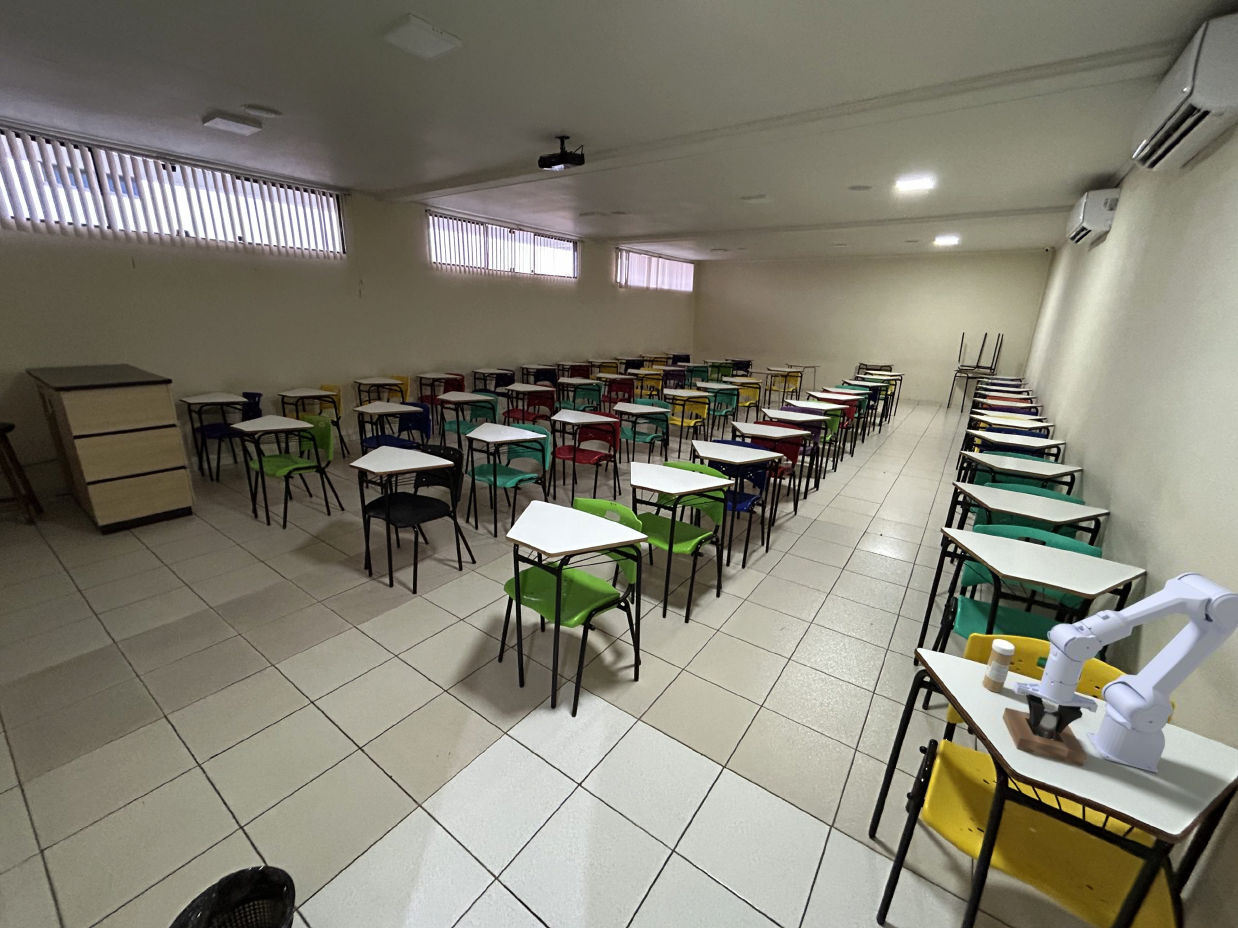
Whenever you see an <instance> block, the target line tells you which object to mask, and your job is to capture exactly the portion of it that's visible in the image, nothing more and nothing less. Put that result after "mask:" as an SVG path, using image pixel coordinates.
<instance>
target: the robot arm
mask: <svg viewBox="0 0 1238 928" xmlns="http://www.w3.org/2000/svg"><path fill="white" fill-rule="evenodd" d="M1174 614H1181V615H1185V616H1188V619H1189V623H1187V624H1186V625H1185V626H1184V627H1183V628H1182V630H1180V631H1179V632H1178V634H1176V636H1174V638H1172V639H1171V640H1170V642H1168V643H1167V644H1166V645H1165V646H1164V647H1163V648H1162V649H1161V651H1159V652H1158V654H1157V655H1155V657H1154V658H1152V660H1150V661H1149V662H1148V663H1147V664H1146V665H1145V666H1144V667H1143V668H1142V669H1141V670H1140V671H1139V672H1138V673H1137V674H1121V675H1120V676H1119V677H1118V678H1116V679H1115V680H1113V681H1110V682H1108V683H1107V684H1105V685H1104V686H1103V688H1102V690H1101V696H1102V699H1103V700H1104V701H1105V704H1104V707H1105V712H1104V714H1103V718H1102V720H1101V723H1100V727H1099V729H1098V732H1097V733H1095V732H1091V731H1090V732H1089V731H1088V732H1087V733H1086V734H1087V737H1088V738H1089V739H1090V741H1091V743H1092V745H1094V747H1095V749H1096V750H1097V752H1098V753H1099V755H1100V757H1102V759H1104V760H1107V761H1110V762H1114V763H1118V764H1122V765H1125V766H1130V767H1134V768H1138V769H1142V770H1146V771H1149V772H1154V773H1158V772H1159V770H1158V769H1157V767H1158V764H1159V762H1160V759H1161V757H1162V754H1163V752H1164V750H1165V748H1166V739H1165V734H1164V732H1163V729H1164V728H1165V726H1166V725H1167V723H1168V720H1169V718H1170V716H1171V715H1172V714H1173V713H1174V708H1173V704H1172V702H1171V698H1170V694H1172V692H1174V691H1175V690H1176V689H1177V688H1178V687H1179V686H1180V685H1181V684H1182V683H1183V682H1184V681H1186V680H1187V679H1188V677H1190V675H1192V674H1193V673H1194V672H1195V671H1196V670H1197V669H1198V668H1199V667H1200V666H1201V665H1202V664H1203V663H1204V662H1205V661H1206V660H1207V659H1208V658H1209V657H1210V656H1211V655H1212V654H1214V652H1216V651H1217V650H1218V648H1220V647H1221V646H1222V645H1223V644H1224V643H1225V642H1226V641H1227V640H1228V639H1229V638H1230V637H1231V636H1232V635H1233V634H1234V633H1235V631H1236V629H1237V628H1238V593H1237V592H1234V591H1232V590H1231V589H1228V588H1227V587H1224V586H1223V585H1221V584H1218V583H1216V582H1214V581H1213V580H1211V579H1209V578H1207V577H1206V576H1204V575H1203V574H1201V573H1198V572H1194V571H1191V572H1190V571H1188V572H1184V573H1181V574H1179V575H1178V576H1176V577H1173V578H1171V579H1168V580H1166V583H1165V586H1164V587H1163V589H1161V590H1159V591H1157V592H1155V593H1153V594H1152V595H1150V596H1147V597H1145V598H1143V599H1142V600H1140V601H1137V602H1135V603H1134V604H1131V605H1129V606H1127V607H1125V608H1124V609H1121V610H1120V611H1115V610H1111V609H1106V610H1105V609H1104V610H1101V611H1098V612H1096V613H1095V614H1094V615H1091V616H1089V617H1087V618H1085V619H1082V620H1079V621H1077V622H1075V623H1072V624H1070V623H1059V624H1056V625H1054V626H1053V627H1051V630H1049V631H1047V634H1046V636H1047V638H1048V640H1049V642H1050V645H1049V649H1050V650H1049V654H1048V658H1047V660H1046V663H1045V666H1044V670H1043V673H1042V677H1041V680H1040V683H1030V682H1027V683H1026V682H1019V681H1015V682H1014V683H1013V684H1014V685H1013V688H1012V689H1013V691H1014V693H1015V694H1016V695H1020V696H1022V694H1023V695H1025V697H1026V700H1027V704H1028V705H1027V706H1028V711H1029V712H1028V713H1029V721H1030V723H1031V725H1032V726H1034V727H1036V726H1037V724H1038V721H1039V717H1040V715H1041V713H1042V712H1043V710H1044V709H1045V707H1044V705H1045V704H1043V702H1044V700H1045V701H1048V702H1051V703H1053V704H1055V705H1057V706H1058V707H1057V711H1058V712H1059V713H1060V718H1059V721H1058V725H1057V728H1056V731H1057V733H1061V732H1062V731H1063V730H1064V729H1065V728H1066V727H1067V726H1070V724H1071V723H1073V722H1074V721H1077V720H1078V719H1081V718H1082V716H1083V712H1082V710H1081V709H1085V710H1088V711H1089V712H1092V713H1096V712H1097V710H1098V707H1099V705H1098V703H1097V702H1096V701H1095V700H1094V699H1092V698H1089V697H1087V696H1086V697H1085V696H1083V695H1080V694H1078V693H1075V692H1076V689H1077V687H1078V683H1079V680H1080V678H1081V677H1080V676H1081V675H1082V671H1083V668H1084V665H1085V662H1086V661H1089V660H1090V661H1091V660H1092V659H1094V658H1095V656H1096V655H1097V654H1098V653H1099V651H1101V650H1102V649H1103V648H1104V646H1107V645H1109V644H1112V643H1115V642H1117V641H1120V640H1122V639H1125V638H1127V637H1129V636H1131V635H1132V631H1133V628H1134V627H1137V626H1140V625H1143V624H1146V623H1149V622H1152V621H1156V620H1159V619H1162V618H1165V617H1168V616H1172V615H1174Z"/></svg>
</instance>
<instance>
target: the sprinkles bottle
mask: <svg viewBox="0 0 1238 928" xmlns="http://www.w3.org/2000/svg"><path fill="white" fill-rule="evenodd" d="M1015 649H1016V647H1015V645H1014V644H1012V642H1009V641H1008V640H1004V639H1000V638H997V639H996V638H995V639H993V641H992V644H991V652H990V655H989V659H988V662H987V665H986V669H985V673H984V674H985V675H984V678H983V680H982V685H983V686H984V687H985V688H986V690H987V689H988V690H989V691H991V692H994V693H1002V692H1003V691H1004V686H1005V682H1006V681H1007V676H1008V673H1009V668H1010V665H1011V661H1012V658H1013V655H1014V654H1015V651H1016V650H1015Z"/></svg>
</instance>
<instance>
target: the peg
mask: <svg viewBox="0 0 1238 928" xmlns="http://www.w3.org/2000/svg"><path fill="white" fill-rule="evenodd" d="M1043 705H1044V707H1045V709H1044V710H1043V712H1042V713H1041V715H1040V717H1039V721H1038V724H1037V726H1036V727H1034V726H1032V727H1031V729H1032V733H1033V734H1034V735H1035V736H1039V737H1043V738H1047V739H1051V740H1053V738H1054V735H1055V731H1056V728H1057V725H1058V721H1059V718H1060V713H1059V712H1058V709H1055V708H1053V707H1051V706H1049V705H1047V704H1043Z"/></svg>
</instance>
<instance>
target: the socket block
mask: <svg viewBox="0 0 1238 928" xmlns="http://www.w3.org/2000/svg"><path fill="white" fill-rule="evenodd" d="M1003 711H1004V712H1003V715H1002V720H1003V722H1004V723H1005V726H1006V728H1007V730H1008V732H1009V733H1008V734H1010V736H1011V740H1012V741H1013V743H1014V747H1016V749H1017V750H1022V751H1024V752H1025V751H1026V752H1029V753H1032V754H1036V755H1040V756H1044V757H1048V758H1052V759H1055V760H1058V761H1062V762H1066V763H1069V764H1074V765H1078V766H1081V767H1083V766H1084V765H1085V761H1086V759H1087V756H1088V754H1087V753H1086V751H1085V750H1084V748H1083V746H1082V745H1081V743H1080V742H1079V740H1078V738H1077V737H1076V735H1075V734H1074V732H1073V730H1072V729H1071V728H1070V725H1068V726H1067V727H1066V728H1065V729H1064V730H1063V731H1062V732H1061V733H1057V731H1055V735H1054V738H1053V739H1047V738H1043V737H1040V736H1038V735H1036V734H1034V732H1033V731H1032V729H1031V727H1032V725H1031V723H1030V721H1029V712H1025V711H1021V710H1016V709H1015V708H1014V709H1013V708H1010V707H1009V708H1008V707H1005V708H1004V710H1003Z"/></svg>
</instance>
